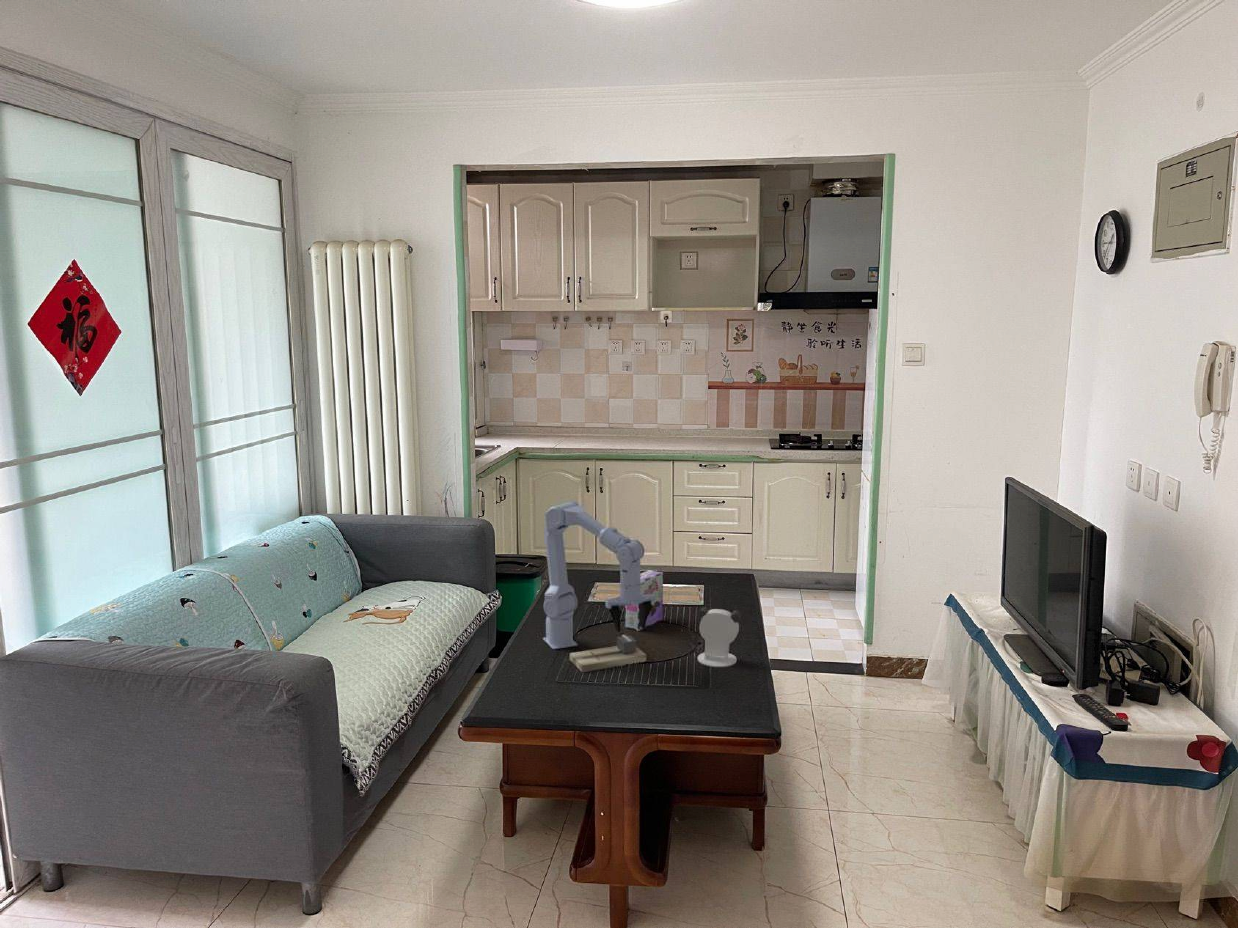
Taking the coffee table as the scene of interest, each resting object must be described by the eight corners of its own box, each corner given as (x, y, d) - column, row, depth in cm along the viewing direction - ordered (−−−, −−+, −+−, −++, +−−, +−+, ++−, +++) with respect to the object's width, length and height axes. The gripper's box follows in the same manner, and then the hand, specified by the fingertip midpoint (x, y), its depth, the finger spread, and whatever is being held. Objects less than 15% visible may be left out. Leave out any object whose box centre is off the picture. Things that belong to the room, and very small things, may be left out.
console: (569, 659, 257) (569, 652, 256) (631, 649, 265) (631, 642, 264) (582, 672, 248) (582, 665, 247) (646, 661, 256) (646, 654, 255)
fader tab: (617, 647, 260) (617, 635, 259) (629, 645, 261) (629, 633, 261) (623, 653, 255) (624, 641, 254) (636, 651, 257) (636, 639, 256)
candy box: (638, 631, 280) (639, 581, 277) (624, 627, 283) (624, 578, 281) (663, 619, 291) (663, 571, 288) (648, 616, 294) (649, 568, 291)
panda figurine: (741, 654, 261) (742, 606, 259) (735, 669, 250) (737, 618, 248) (701, 650, 264) (702, 602, 262) (694, 664, 253) (695, 614, 251)
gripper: (612, 590, 244) (612, 636, 246) (659, 584, 250) (658, 629, 252) (602, 583, 251) (602, 628, 253) (648, 577, 256) (648, 622, 258)
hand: (630, 628), depth 253 cm, fingers open, 7 cm apart
